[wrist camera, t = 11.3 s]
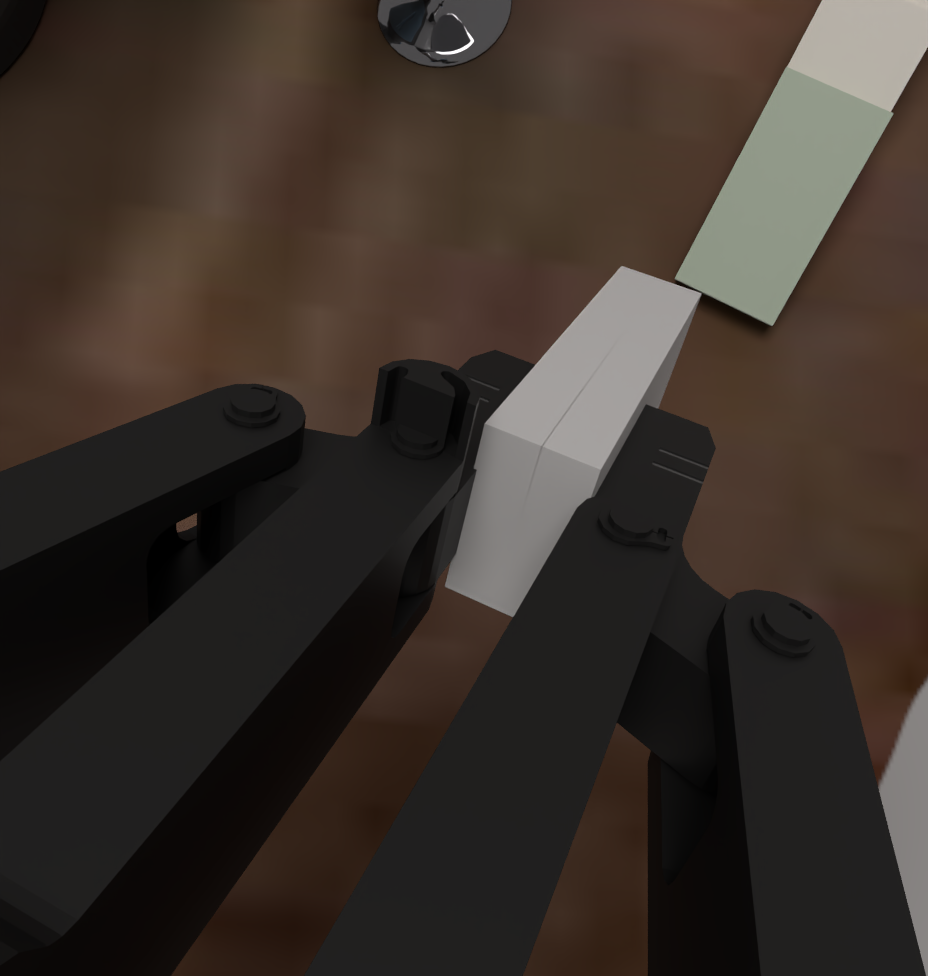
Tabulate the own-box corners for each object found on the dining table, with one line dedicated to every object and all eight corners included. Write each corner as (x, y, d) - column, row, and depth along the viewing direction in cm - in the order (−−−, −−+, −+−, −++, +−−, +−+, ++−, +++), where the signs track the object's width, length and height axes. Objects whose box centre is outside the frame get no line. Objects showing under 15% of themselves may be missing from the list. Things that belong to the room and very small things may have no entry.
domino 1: (772, 325, 40) (893, 113, 37) (674, 278, 41) (786, 66, 38) (769, 325, 42) (886, 121, 39) (675, 280, 43) (783, 76, 40)
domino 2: (819, 236, 41) (944, 16, 38) (722, 190, 41) (836, -28, 38) (816, 238, 42) (935, 27, 39) (721, 194, 43) (832, -16, 40)
